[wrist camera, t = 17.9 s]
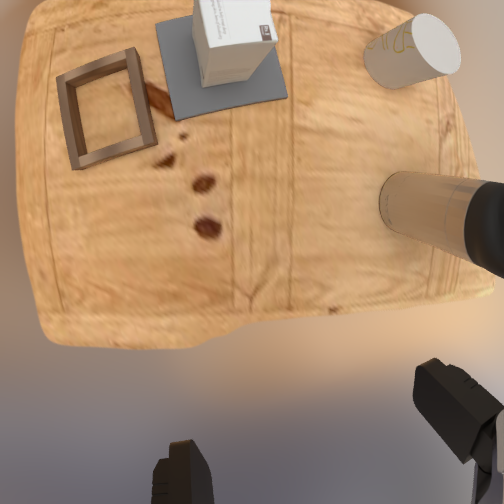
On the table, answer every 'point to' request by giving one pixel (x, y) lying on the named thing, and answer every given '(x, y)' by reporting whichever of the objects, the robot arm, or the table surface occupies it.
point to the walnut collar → (72, 116)
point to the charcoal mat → (189, 80)
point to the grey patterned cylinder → (413, 53)
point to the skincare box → (231, 38)
